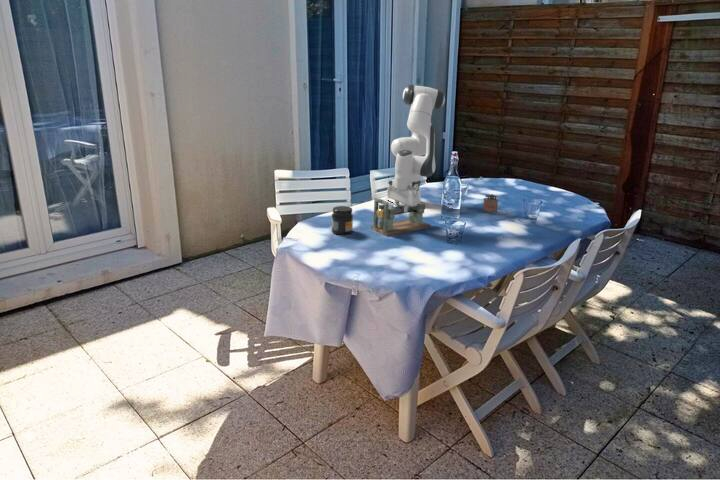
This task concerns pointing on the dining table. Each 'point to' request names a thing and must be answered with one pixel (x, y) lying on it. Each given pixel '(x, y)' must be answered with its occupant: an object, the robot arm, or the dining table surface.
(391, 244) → the dining table surface
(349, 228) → the supplement container
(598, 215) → the dining table surface
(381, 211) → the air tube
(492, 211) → the lighter
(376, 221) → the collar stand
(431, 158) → the robot arm
